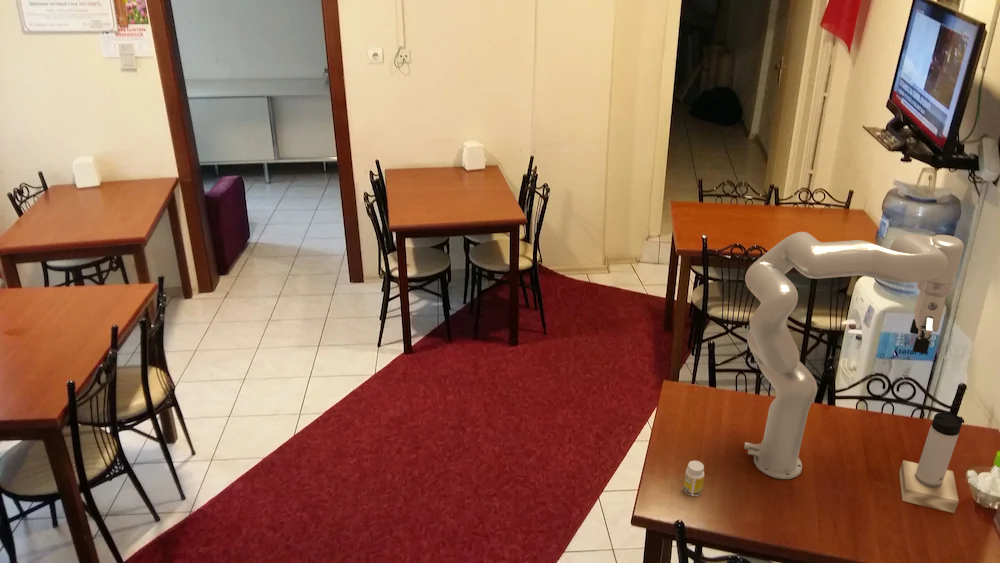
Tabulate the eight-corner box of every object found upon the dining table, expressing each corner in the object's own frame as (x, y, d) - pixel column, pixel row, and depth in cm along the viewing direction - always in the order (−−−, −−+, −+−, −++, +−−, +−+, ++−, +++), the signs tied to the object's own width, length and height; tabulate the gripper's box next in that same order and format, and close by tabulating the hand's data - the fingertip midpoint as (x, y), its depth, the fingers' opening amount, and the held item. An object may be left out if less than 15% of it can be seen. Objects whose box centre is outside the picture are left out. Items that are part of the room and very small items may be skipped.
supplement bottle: (702, 486, 202) (706, 461, 198) (700, 498, 198) (704, 473, 194) (684, 482, 204) (687, 457, 200) (682, 494, 200) (685, 469, 196)
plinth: (902, 500, 197) (905, 488, 195) (899, 471, 207) (902, 460, 205) (954, 513, 193) (958, 501, 191) (949, 482, 203) (953, 471, 201)
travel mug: (946, 489, 195) (968, 426, 186) (918, 486, 196) (939, 423, 187) (939, 473, 201) (959, 411, 191) (912, 470, 202) (931, 408, 193)
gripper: (956, 302, 181) (937, 362, 189) (947, 272, 196) (930, 329, 203) (921, 296, 184) (904, 356, 191) (915, 267, 198) (899, 324, 206)
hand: (917, 342), depth 197 cm, fingers open, 9 cm apart
